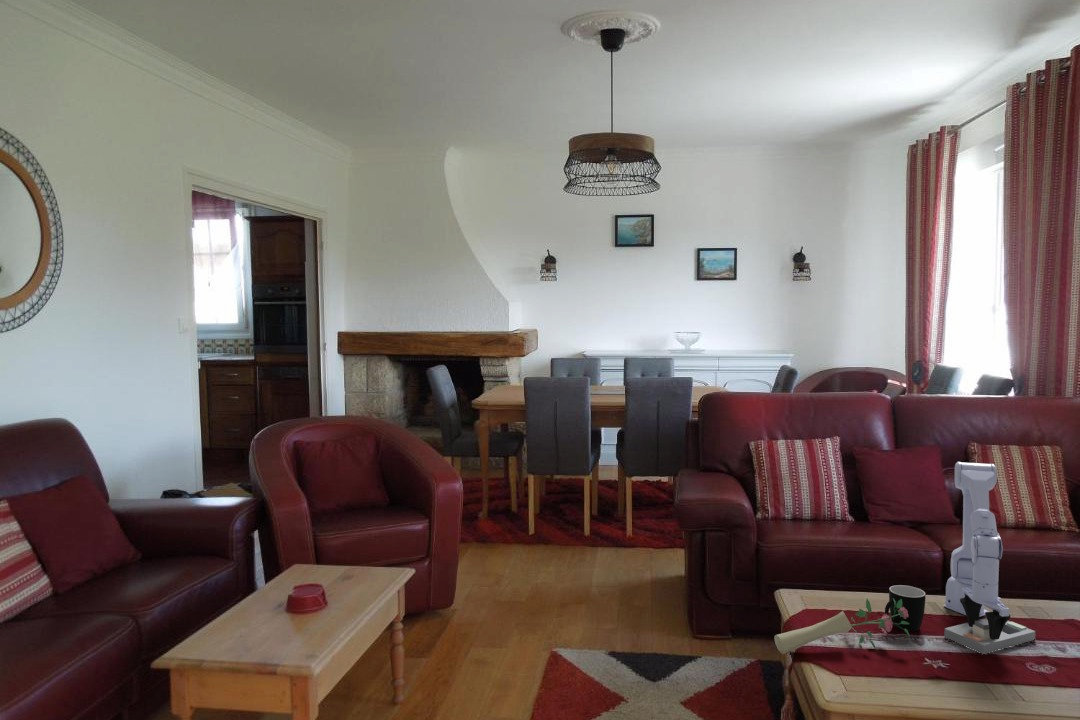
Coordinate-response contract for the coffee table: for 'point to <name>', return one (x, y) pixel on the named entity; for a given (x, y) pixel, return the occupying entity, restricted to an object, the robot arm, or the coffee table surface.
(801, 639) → the flower vase
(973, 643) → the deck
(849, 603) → the coffee table surface
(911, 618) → the mug
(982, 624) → the plug
